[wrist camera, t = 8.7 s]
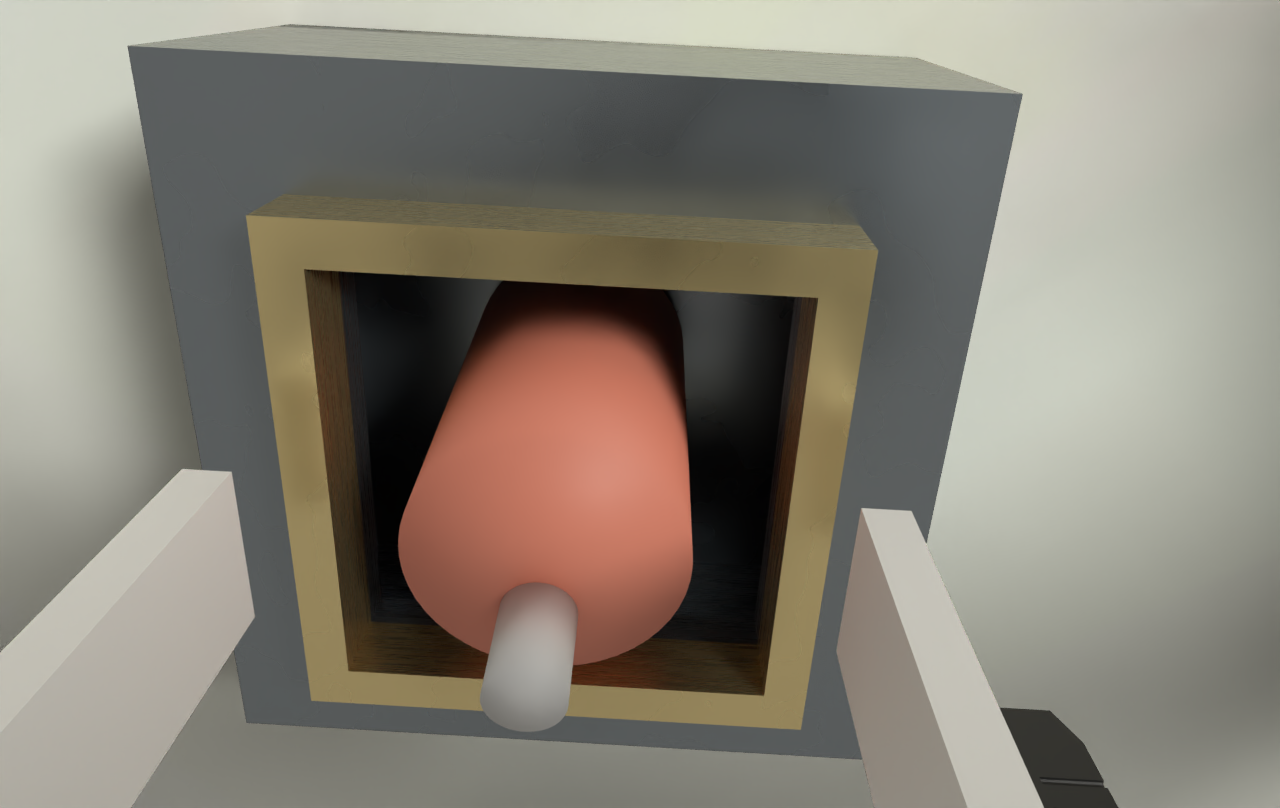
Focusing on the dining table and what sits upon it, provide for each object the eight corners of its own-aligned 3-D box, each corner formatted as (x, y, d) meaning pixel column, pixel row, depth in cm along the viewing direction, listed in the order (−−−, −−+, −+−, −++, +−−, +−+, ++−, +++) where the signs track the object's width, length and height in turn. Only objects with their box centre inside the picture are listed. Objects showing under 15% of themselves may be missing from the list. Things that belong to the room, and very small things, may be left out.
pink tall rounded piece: (486, 235, 21) (366, 491, 12) (700, 268, 21) (726, 541, 13) (472, 419, 24) (364, 737, 15) (664, 446, 24) (666, 773, 15)
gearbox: (290, 24, 21) (70, 53, 13) (916, 58, 20) (1059, 106, 13) (345, 548, 27) (216, 776, 19) (831, 577, 26) (895, 817, 19)
